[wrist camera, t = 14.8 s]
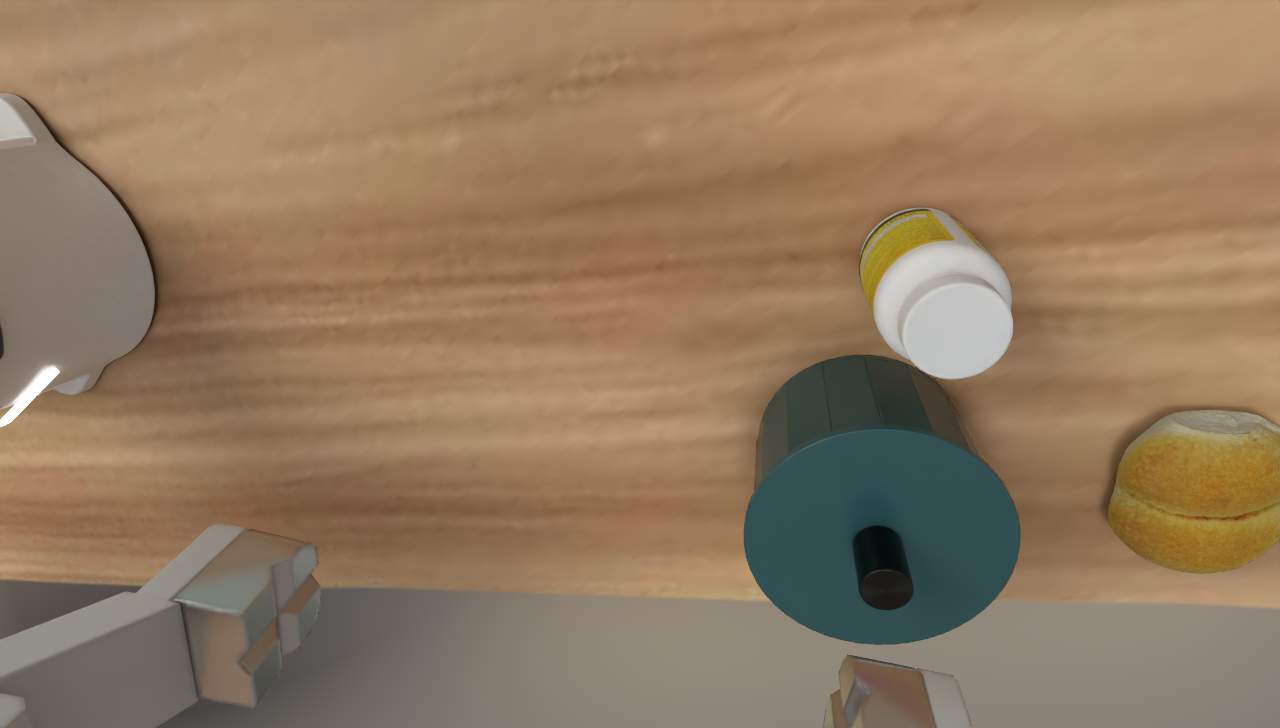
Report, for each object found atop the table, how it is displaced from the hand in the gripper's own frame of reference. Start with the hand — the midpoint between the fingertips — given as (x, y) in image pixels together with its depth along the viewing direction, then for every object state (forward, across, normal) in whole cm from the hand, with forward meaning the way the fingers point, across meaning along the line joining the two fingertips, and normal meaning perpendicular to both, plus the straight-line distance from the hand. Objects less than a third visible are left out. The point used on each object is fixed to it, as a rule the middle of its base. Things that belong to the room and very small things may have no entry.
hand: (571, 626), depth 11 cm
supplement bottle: (+29, -11, +1) cm, 31 cm away
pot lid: (+20, -11, +12) cm, 26 cm away
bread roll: (+28, -28, +10) cm, 41 cm away
